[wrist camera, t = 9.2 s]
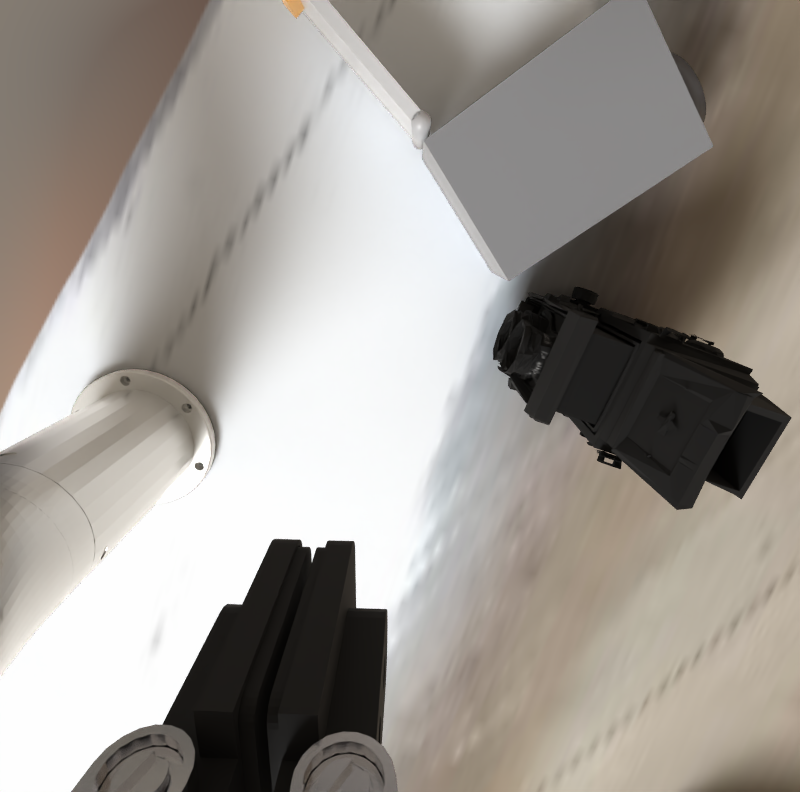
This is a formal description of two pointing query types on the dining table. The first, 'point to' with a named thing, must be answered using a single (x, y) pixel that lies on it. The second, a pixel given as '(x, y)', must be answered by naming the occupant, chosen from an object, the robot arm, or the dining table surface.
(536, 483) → the dining table surface
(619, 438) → the camera
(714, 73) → the dining table surface
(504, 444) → the dining table surface
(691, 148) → the grey device box
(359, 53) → the side door
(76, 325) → the dining table surface
